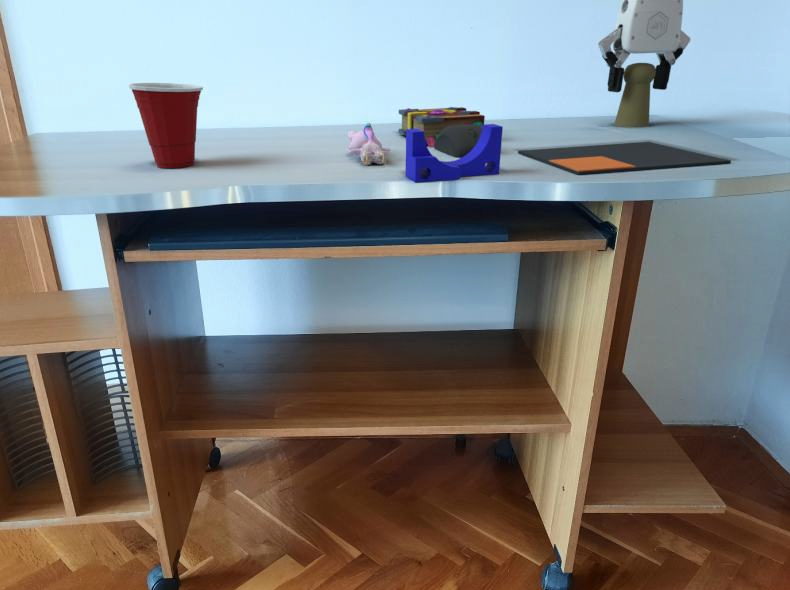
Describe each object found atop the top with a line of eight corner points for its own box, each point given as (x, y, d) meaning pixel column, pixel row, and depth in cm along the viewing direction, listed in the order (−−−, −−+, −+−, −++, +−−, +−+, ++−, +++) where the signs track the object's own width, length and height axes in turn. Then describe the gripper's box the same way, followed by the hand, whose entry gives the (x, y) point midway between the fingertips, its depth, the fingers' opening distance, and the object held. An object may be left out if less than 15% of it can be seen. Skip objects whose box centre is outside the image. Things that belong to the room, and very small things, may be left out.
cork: (607, 128, 118) (616, 63, 113) (622, 125, 122) (631, 62, 117) (640, 131, 114) (651, 63, 109) (654, 127, 118) (665, 62, 113)
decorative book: (455, 131, 122) (456, 103, 120) (487, 143, 108) (489, 112, 106) (397, 134, 121) (398, 106, 119) (422, 147, 107) (423, 115, 104)
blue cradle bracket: (415, 182, 82) (416, 133, 79) (405, 175, 86) (406, 129, 83) (503, 175, 84) (507, 127, 81) (490, 169, 88) (493, 123, 85)
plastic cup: (208, 169, 95) (198, 83, 90) (135, 173, 95) (120, 86, 90) (215, 157, 105) (206, 78, 100) (148, 160, 105) (136, 81, 99)
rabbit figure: (396, 174, 93) (376, 142, 106) (398, 133, 90) (377, 105, 102) (354, 177, 93) (338, 145, 105) (354, 136, 89) (338, 107, 101)
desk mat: (647, 144, 102) (648, 140, 101) (730, 163, 86) (731, 158, 85) (517, 153, 99) (518, 149, 98) (578, 175, 83) (578, 170, 82)
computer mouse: (457, 158, 96) (458, 130, 95) (431, 147, 106) (432, 122, 105) (496, 155, 98) (498, 127, 96) (467, 144, 107) (468, 119, 106)
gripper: (620, -22, 103) (603, 94, 111) (716, -24, 105) (694, 89, 113) (594, -18, 110) (581, 91, 117) (686, -21, 112) (667, 86, 120)
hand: (636, 90), depth 115 cm, fingers open, 8 cm apart
